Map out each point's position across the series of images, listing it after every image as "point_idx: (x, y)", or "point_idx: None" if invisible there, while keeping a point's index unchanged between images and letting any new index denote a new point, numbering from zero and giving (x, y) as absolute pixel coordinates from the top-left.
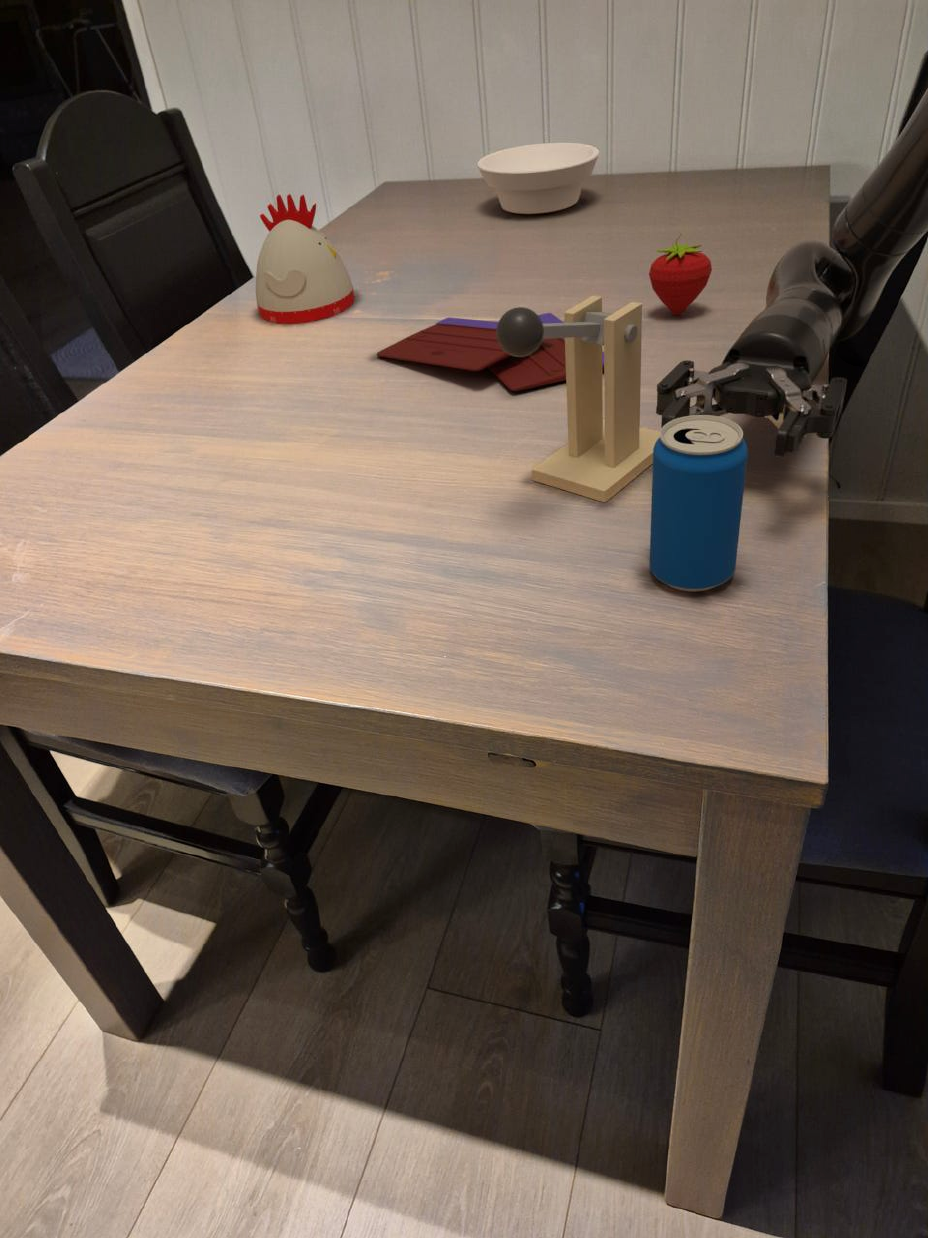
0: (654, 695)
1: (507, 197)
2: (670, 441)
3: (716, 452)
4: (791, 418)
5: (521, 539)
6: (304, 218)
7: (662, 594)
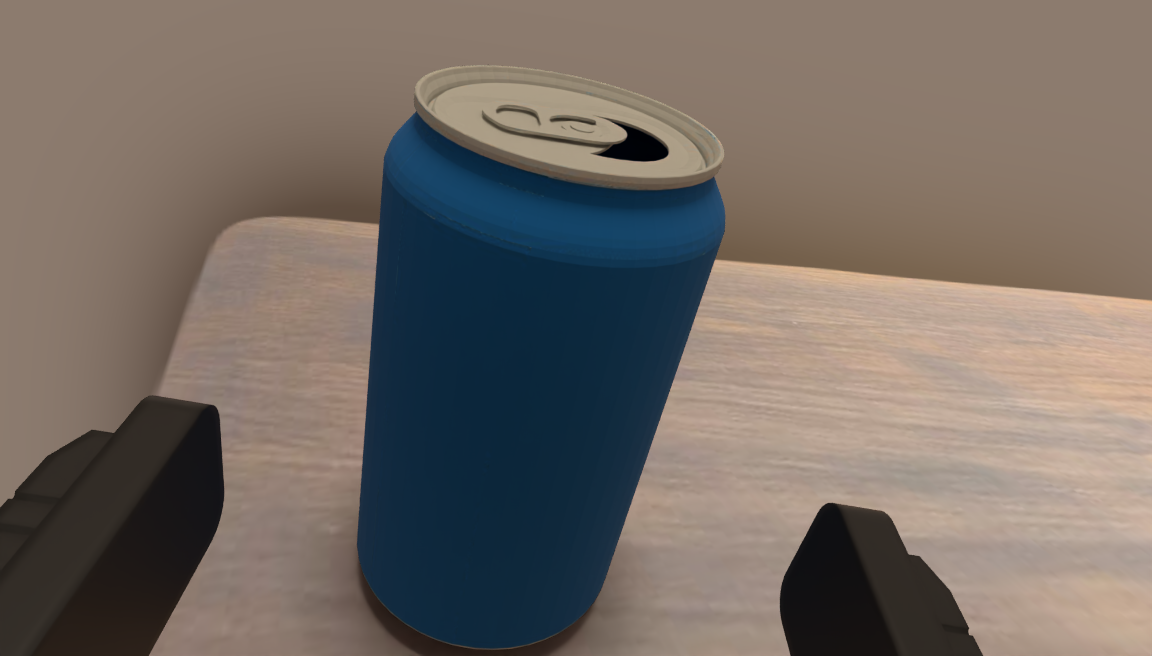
0: None
1: None
2: (656, 127)
3: (488, 72)
4: (58, 535)
5: (980, 615)
6: None
7: None
